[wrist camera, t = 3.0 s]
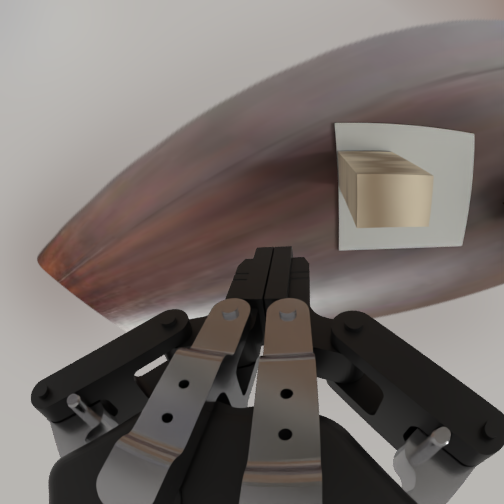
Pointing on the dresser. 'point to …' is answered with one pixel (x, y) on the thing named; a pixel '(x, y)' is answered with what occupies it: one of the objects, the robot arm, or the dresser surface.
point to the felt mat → (429, 159)
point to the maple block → (384, 189)
